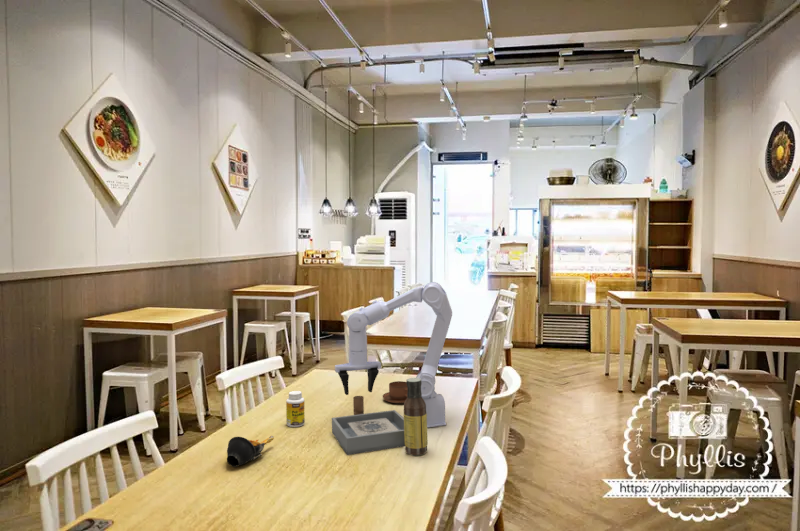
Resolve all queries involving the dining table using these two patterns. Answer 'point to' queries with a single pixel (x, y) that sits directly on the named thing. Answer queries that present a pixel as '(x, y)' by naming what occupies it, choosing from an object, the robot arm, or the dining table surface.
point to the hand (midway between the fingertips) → (358, 392)
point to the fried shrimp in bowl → (244, 450)
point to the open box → (371, 440)
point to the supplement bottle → (295, 409)
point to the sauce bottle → (415, 419)
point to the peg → (358, 405)
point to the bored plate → (370, 427)
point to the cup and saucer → (396, 392)
